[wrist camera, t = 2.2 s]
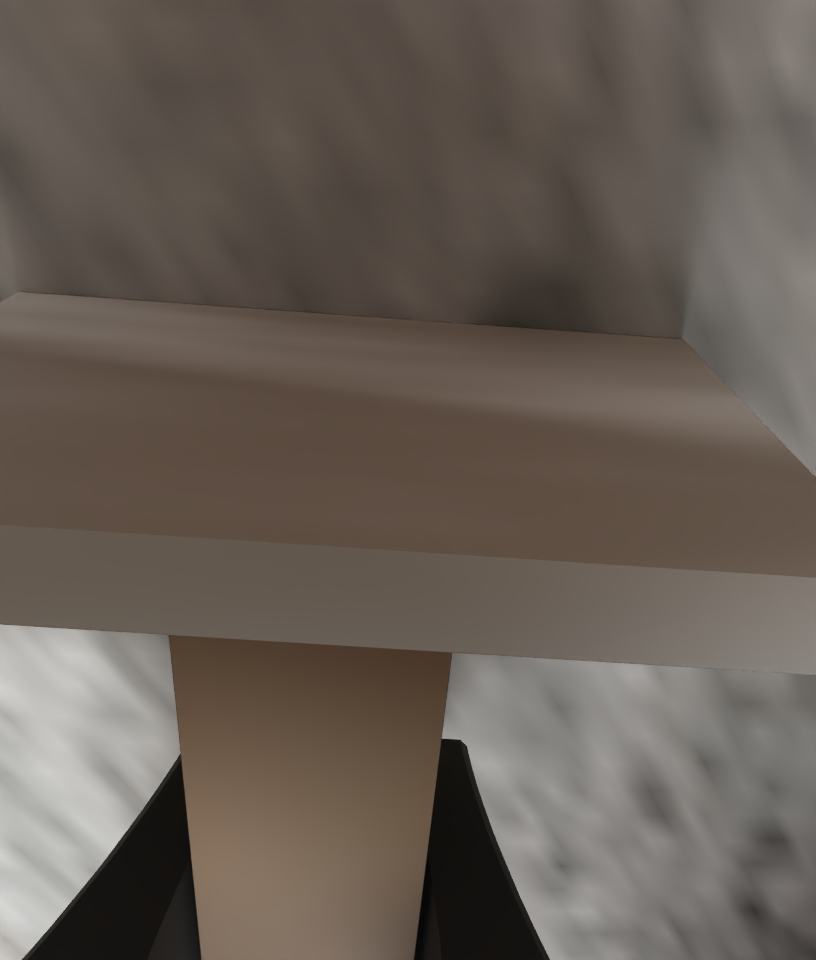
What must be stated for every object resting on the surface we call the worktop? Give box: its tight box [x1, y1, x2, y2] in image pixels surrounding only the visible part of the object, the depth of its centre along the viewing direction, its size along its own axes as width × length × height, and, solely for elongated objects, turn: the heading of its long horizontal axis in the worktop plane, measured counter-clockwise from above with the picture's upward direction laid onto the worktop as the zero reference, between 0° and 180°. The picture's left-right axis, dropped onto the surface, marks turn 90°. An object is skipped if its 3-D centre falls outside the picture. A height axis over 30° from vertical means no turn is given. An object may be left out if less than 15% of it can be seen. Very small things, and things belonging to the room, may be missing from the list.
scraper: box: [0, 292, 816, 960], centre depth 10 cm, size 14×8×5 cm, turn 176°
